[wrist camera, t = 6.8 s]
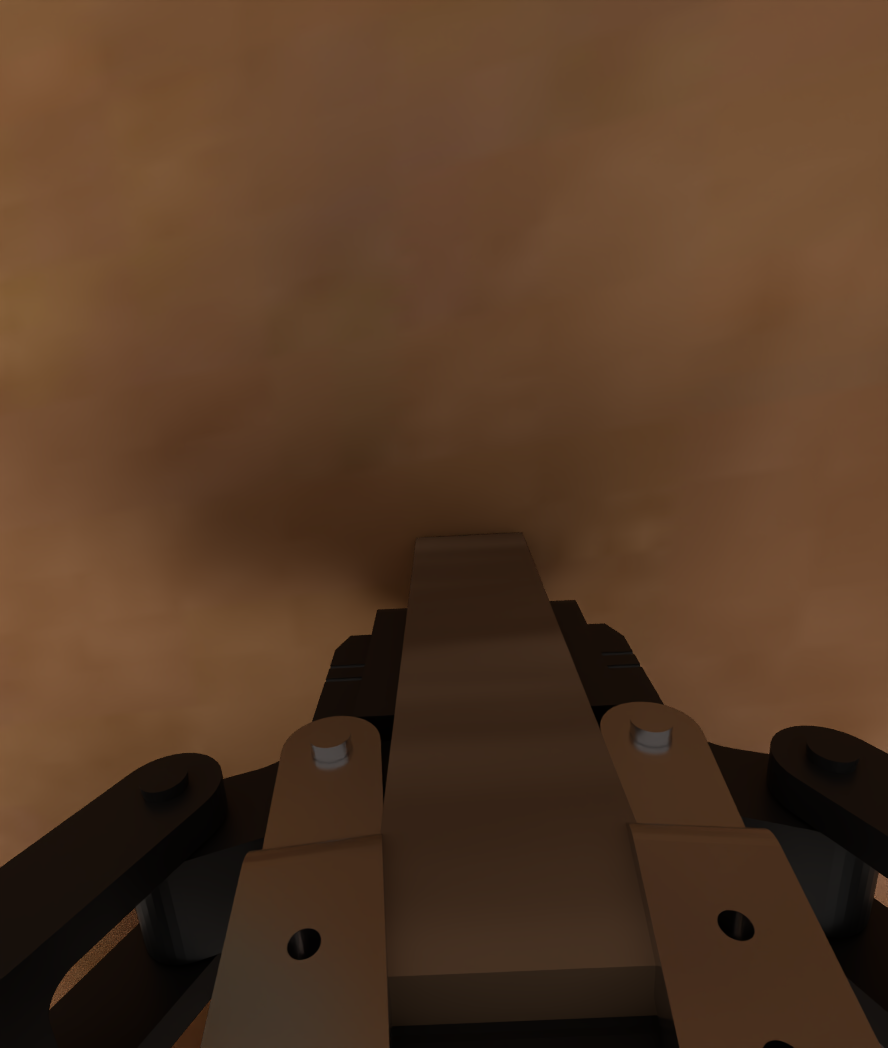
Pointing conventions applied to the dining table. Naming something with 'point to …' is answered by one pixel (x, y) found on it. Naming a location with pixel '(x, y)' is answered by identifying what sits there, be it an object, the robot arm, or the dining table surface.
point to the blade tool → (503, 809)
